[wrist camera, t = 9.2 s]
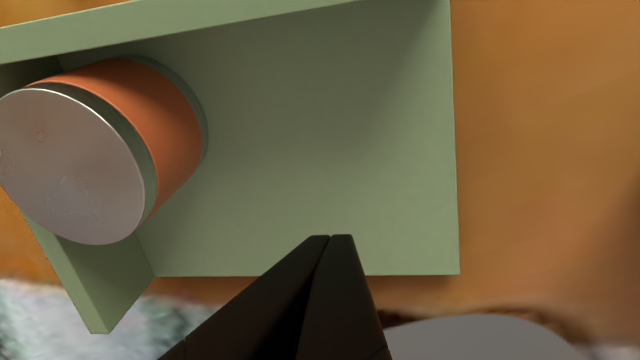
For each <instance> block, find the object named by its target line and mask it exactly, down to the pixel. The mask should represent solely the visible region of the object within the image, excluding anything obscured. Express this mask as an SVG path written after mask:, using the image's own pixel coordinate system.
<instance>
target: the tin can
mask: <svg viewBox="0 0 640 360" xmlns="http://www.w3.org/2000/svg"><path fill="white" fill-rule="evenodd" d="M208 139H209V133H208V124H207V120H206V116H205V113H204V111H203V108H202V106H201V104H200V102H199V100H198V98H197V97H196V95H195V94H194V92H193V91H192V89H191V88H190V87H189V86H188V84H187V83H186V82H185V81H184V80H183V79H182V78H181V77H180V76H179V75H177V74H176V73H175V72H174V71H172V70H171V69H169V68H168V67H166V66H165V65H163V64H161V63H159V62H157V61H155V60H152V59H149V58H147V57H143V56H138V55H119V56H115V57H111V58H107V59H102V60H99V61H96V62H93V63H90V64H87V65H84V66H81V67H78V68H75V69H72V70H69V71H66V72H63V73H60V74H57V75H54V76H51V77H48V78H45V79H42V80H39V81H36V82H34V83H31V84H29V85H27V86H25V87H24V88H21V89H18V90H15V91H12V92H10V93H8V94H6V95H5V96H3V97H2V98H0V184H1V186H2V188H3V189H4V190H5V192H6V193H7V194H8V196H9V197H10V198H11V199H12V201H13V202H14V203H15V204H16V205H17V206H18V207H19V208H20V209H21V210H22V211H23V212H24V213H25V214H26V215H27V216H29V217H30V218H31V219H32V220H34V221H35V222H36V223H38V224H39V225H41V226H42V227H44V228H45V229H47V230H49V231H50V232H52V233H54V234H56V235H58V236H60V237H63V238H65V239H68V240H71V241H74V242H78V243H82V244H89V245H105V244H111V243H115V242H118V241H120V240H122V239H124V238H126V237H127V236H129V235H130V234H131V233H132V232H133V231H135V230H136V229H137V228H138V227H139V226H140V225H142V224H143V223H144V222H145V221H146V220H147V219H149V218H150V217H151V216H152V215H153V214H154V213H155V212H156V211H157V210H158V209H159V208H160V207H161V206H162V205H163V204H164V203H165V202H166V201H167V200H168V199H169V198H170V197H171V196H172V195H173V194H174V193H175V192H176V191H177V190H178V189H179V188H180V187H181V186H182V185H183V184H184V183H185V182H186V181H187V180H188V179H189V178H190V177H191V175H192V174H193V173H194V172H195V171H196V170H197V169H198V167H199V166H200V165H201V163H202V161H203V159H204V157H205V155H206V152H207V148H208Z"/></svg>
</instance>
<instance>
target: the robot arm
mask: <svg viewBox="0 0 640 360" xmlns="http://www.w3.org/2000/svg"><path fill="white" fill-rule="evenodd" d="M157 360H392V357H391V354H390V351H389V349H388V346H387V342H386V340H385V336H384V333H383V330H382V327H381V324H380V320H379V317H378V314H377V311H376V308H375V305H374V302H373V299H372V295H371V292H370V289H369V286H368V283H367V280H366V277H365V274H364V270H363V267H362V264H361V261H360V258H359V255H358V252H357V249H356V245H355V242H354V239H353V236H352V235H351V234H334V235H332V236H330V235H311V236H309V237H308V238H307V239H305V240H304V241H303V242H302V243H301V244H299V245H298V246H297V247H296V248H294V249H293V250H292V251H291V252H290V253H288V254H287V255H286V256H285V257H283V258H282V259H281V260H280V261H278V262H277V263H276V264H275V265H274V266H272V267H271V268H270V269H269V270H267V271H266V272H265V273H264V274H262V275H261V276H260V277H259V278H258V279H256V280H255V281H254V282H253V283H251V284H250V285H249V286H248V287H246V288H245V289H244V290H243V291H242V292H240V293H239V294H238V295H237V296H235V297H234V298H233V299H232V300H230V301H229V302H228V303H227V304H226V305H224V306H223V307H222V308H221V309H219V310H218V311H217V312H216V313H214V314H213V315H212V316H211V317H210V318H208V319H207V320H206V321H205V322H203V323H202V324H201V325H200V326H198V327H197V328H196V329H195V330H194V331H192V332H191V333H190V334H189V335H187V336H186V337H185V341H184V340H181V341H180V342H179V343H177V344H176V345H175V346H174V347H172V348H171V349H170V350H169V351H168V352H166V353H165V354H164V355H163V356H161V357H160V358H159V359H157Z"/></svg>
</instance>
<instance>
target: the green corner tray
mask: <svg viewBox="0 0 640 360" xmlns="http://www.w3.org/2000/svg"><path fill="white" fill-rule="evenodd" d="M119 55H138V56H143V57H147V58H149V59H152V60H155V61H157V62H159V63H161V64H163V65H165V66H166V67H168V68H169V69H171V70H172V71H174V72H175V73H176V74H177V75H179V76H180V77H181V78H182V79H183V80H184V81H185V82H186V83H187V84H188V86H189V87H190V88H191V89H192V91H193V92H194V94H195V95H196V97H197V98H198V100H199V102H200V104H201V106H202V108H203V111H204V113H205V116H206V120H207V124H208V133H209V139H208V148H207V152H206V155H205V157H204V159H203V161H202V163H201V165H200V166H199V167H198V169H197V170H196V171H195V172H194V173H193V174H192V175H191V177H190V178H189V179H188V180H187V181H186V182H185V183H184V184H183V185H182V186H181V187H180V188H179V189H178V190H177V191H176V192H175V193H174V194H173V195H172V196H171V197H170V198H169V199H168V200H167V201H166V202H165V203H164V204H163V205H162V206H161V207H160V208H159V209H158V210H157V211H156V212H155V213H154V214H153V215H152V216H151V217H150V218H149V219H147V220H146V221H145V222H144V223H143V224H142V225H140V226H139V227H138V228H137V229H136V230H135V231H133V232H132V233H131V234H130V235H129V236H127V237H126V238H124V239H122V240H120V241H118V242H115V243H111V244H105V245H89V244H82V243H78V242H74V241H71V240H68V239H65V238H63V237H60V236H58V235H56V234H54V233H52V232H50V231H49V230H47V229H45V228H44V227H42V226H41V225H39V224H38V223H36V222H35V221H34V220H32V219H31V218H30V217H29V216H27V215H26V214H25V213H24V212H23V211H22V210H21V209H20V208H19V209H20V211H21V213H22V214H23V216H24V218H25V220H26V221H27V223H28V225H29V227H30V228H31V230H32V232H33V234H34V235H35V237H36V239H37V241H38V242H39V244H40V246H41V248H42V249H43V251H44V253H45V255H46V256H47V258H48V260H49V262H50V263H51V265H52V267H53V269H54V271H55V272H56V274H57V276H58V278H59V279H60V281H61V283H62V285H63V286H64V288H65V290H66V292H67V293H68V295H69V297H70V299H71V300H72V302H73V304H74V306H75V307H76V309H77V311H78V313H79V314H80V316H81V318H82V320H83V321H84V323H85V325H86V327H87V328H88V330H89V332H90V333H91V334H109V333H110V332H111V331H112V330H113V329H114V327H115V326H116V325H117V324H118V322H119V321H120V320H121V319H122V317H123V316H124V315H125V314H126V312H127V311H128V310H129V309H130V307H131V306H132V305H133V304H134V303H135V301H136V300H137V299H138V298H139V296H140V295H141V294H142V293H143V291H144V290H145V289H146V288H147V286H148V285H149V284H150V283H151V281H152V280H153V279H154V278H155V277H208V276H261V275H262V274H264V273H265V272H266V271H267V270H269V269H270V268H271V267H272V266H274V265H275V264H276V263H277V262H278V261H280V260H281V259H282V258H283V257H285V256H286V255H287V254H288V253H290V252H291V251H292V250H293V249H294V248H296V247H297V246H298V245H299V244H301V243H302V242H303V241H304V240H305V239H307V238H308V237H309V236H311V235H330V236H332V235H334V234H351V235H352V236H353V239H354V242H355V245H356V249H357V252H358V255H359V258H360V261H361V264H362V267H363V270H364V274H365V276H366V275H460V257H459V230H458V204H457V178H456V151H455V125H454V99H453V73H452V46H451V20H450V0H132V1H127V2H122V3H118V4H113V5H108V6H103V7H98V8H93V9H88V10H83V11H78V12H73V13H69V14H64V15H59V16H54V17H49V18H44V19H39V20H34V21H29V22H25V23H20V24H15V25H10V26H5V27H0V98H2V97H3V96H5V95H6V94H8V93H10V92H12V91H15V90H18V89H21V88H24V87H25V86H27V85H29V84H31V83H34V82H36V81H39V80H42V79H45V78H48V77H51V76H54V75H57V74H60V73H63V72H66V71H69V70H72V69H75V68H78V67H81V66H84V65H87V64H90V63H93V62H96V61H99V60H102V59H107V58H111V57H115V56H119Z"/></svg>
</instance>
